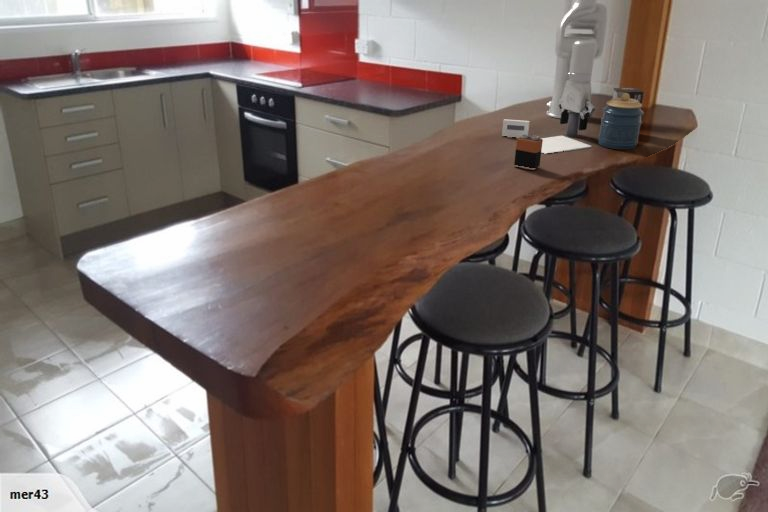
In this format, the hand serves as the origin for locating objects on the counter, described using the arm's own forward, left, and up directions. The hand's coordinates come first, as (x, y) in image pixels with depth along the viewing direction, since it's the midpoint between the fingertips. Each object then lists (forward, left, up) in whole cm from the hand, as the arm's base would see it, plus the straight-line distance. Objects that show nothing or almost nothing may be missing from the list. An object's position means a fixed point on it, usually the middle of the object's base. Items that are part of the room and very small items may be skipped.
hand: (572, 126), depth 220 cm
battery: (+23, -38, -4) cm, 45 cm away
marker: (0, 0, -3) cm, 3 cm away
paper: (+7, -14, -3) cm, 16 cm away
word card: (-7, -20, -3) cm, 21 cm away
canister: (+16, +6, -4) cm, 17 cm away
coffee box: (+6, +18, -4) cm, 19 cm away
